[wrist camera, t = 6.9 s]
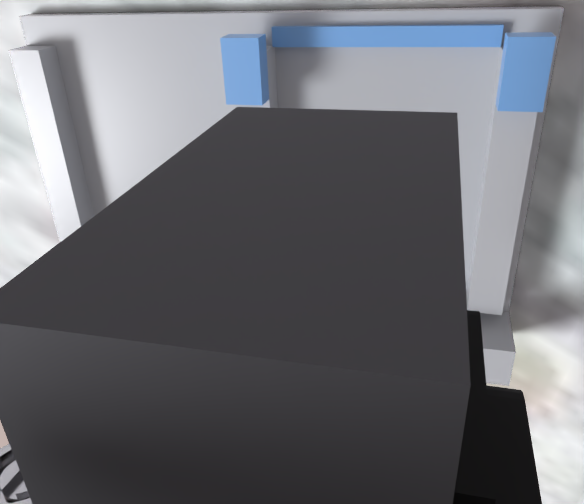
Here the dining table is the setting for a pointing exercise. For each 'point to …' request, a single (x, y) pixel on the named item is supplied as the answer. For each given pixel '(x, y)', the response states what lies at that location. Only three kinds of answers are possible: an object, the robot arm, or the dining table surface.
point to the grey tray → (297, 105)
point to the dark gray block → (253, 323)
